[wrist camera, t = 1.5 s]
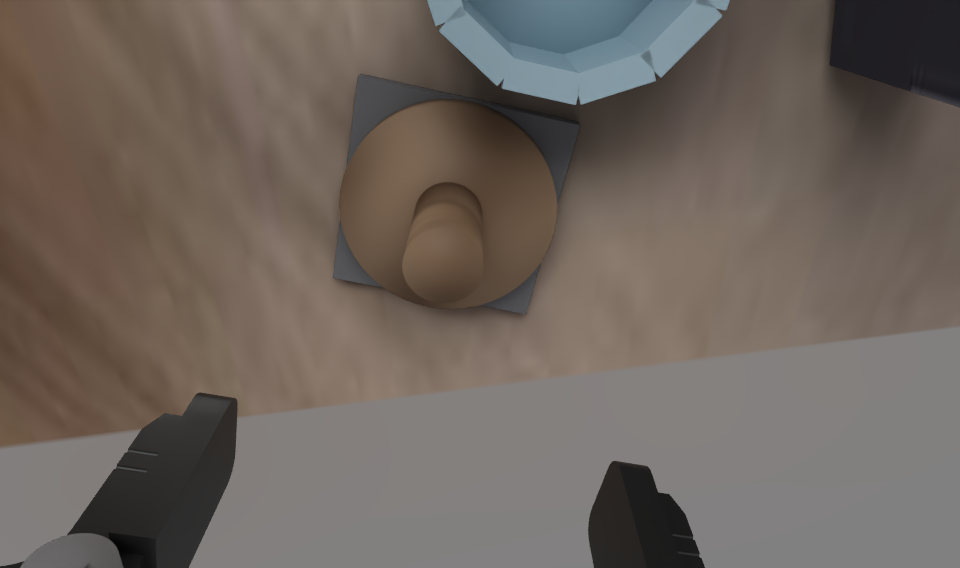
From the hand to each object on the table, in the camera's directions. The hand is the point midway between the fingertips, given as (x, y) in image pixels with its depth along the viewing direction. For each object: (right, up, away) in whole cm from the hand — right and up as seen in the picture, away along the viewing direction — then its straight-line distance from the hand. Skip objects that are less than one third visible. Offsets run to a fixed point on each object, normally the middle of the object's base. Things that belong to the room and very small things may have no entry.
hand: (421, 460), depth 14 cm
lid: (0, +7, +14) cm, 16 cm away
